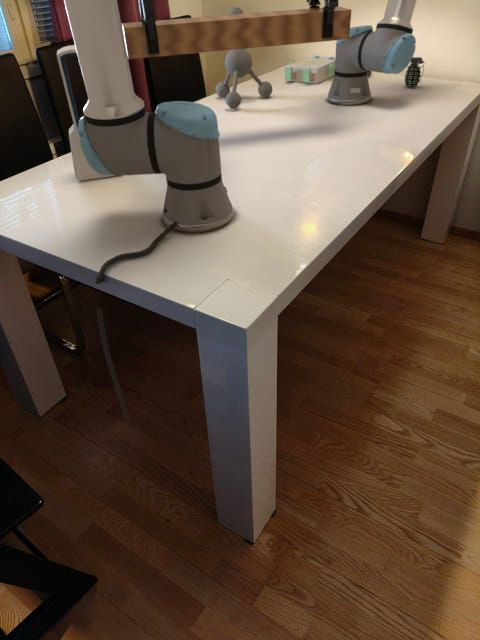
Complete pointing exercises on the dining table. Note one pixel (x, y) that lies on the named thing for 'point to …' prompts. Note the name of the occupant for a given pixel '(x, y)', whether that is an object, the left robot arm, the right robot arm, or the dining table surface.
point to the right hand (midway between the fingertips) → (320, 35)
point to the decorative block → (311, 70)
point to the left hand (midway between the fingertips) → (152, 50)
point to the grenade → (413, 72)
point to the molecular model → (239, 73)
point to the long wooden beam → (235, 32)
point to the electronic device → (75, 122)
